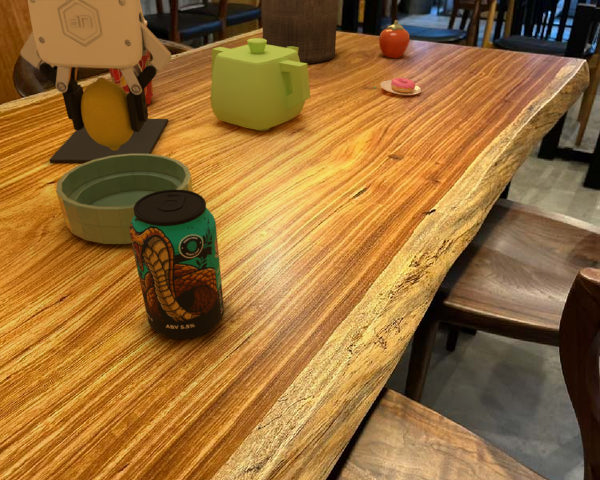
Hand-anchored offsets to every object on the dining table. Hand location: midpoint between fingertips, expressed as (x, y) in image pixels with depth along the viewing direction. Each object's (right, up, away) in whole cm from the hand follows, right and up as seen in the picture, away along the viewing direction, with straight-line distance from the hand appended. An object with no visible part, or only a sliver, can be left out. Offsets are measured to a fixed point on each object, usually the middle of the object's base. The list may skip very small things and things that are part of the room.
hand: (110, 125), depth 60 cm
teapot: (+15, +13, +36) cm, 42 cm away
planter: (+21, +41, +72) cm, 85 cm away
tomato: (+44, +40, +72) cm, 94 cm away
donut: (+40, +23, +49) cm, 68 cm away
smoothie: (-10, +18, +42) cm, 46 cm away
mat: (-9, +6, +26) cm, 29 cm away
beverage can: (+10, -21, -9) cm, 25 cm away
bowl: (0, -9, +7) cm, 11 cm away
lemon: (0, -2, +2) cm, 3 cm away
